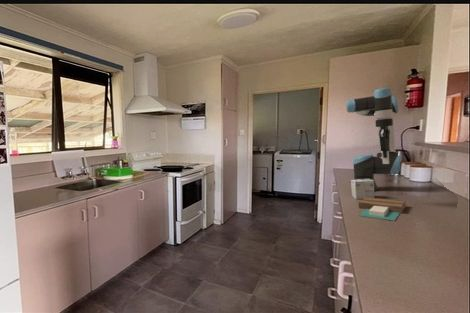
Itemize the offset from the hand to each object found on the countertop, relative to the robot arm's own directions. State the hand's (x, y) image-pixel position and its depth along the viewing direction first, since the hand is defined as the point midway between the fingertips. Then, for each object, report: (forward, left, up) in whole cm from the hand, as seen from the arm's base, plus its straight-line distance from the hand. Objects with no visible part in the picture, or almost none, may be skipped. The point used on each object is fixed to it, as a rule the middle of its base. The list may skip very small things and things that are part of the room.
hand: (385, 163), depth 122 cm
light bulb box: (-7, -14, -22) cm, 27 cm away
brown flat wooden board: (+9, -1, -21) cm, 23 cm away
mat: (+21, +1, -21) cm, 30 cm away
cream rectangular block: (+20, 0, -21) cm, 29 cm away
